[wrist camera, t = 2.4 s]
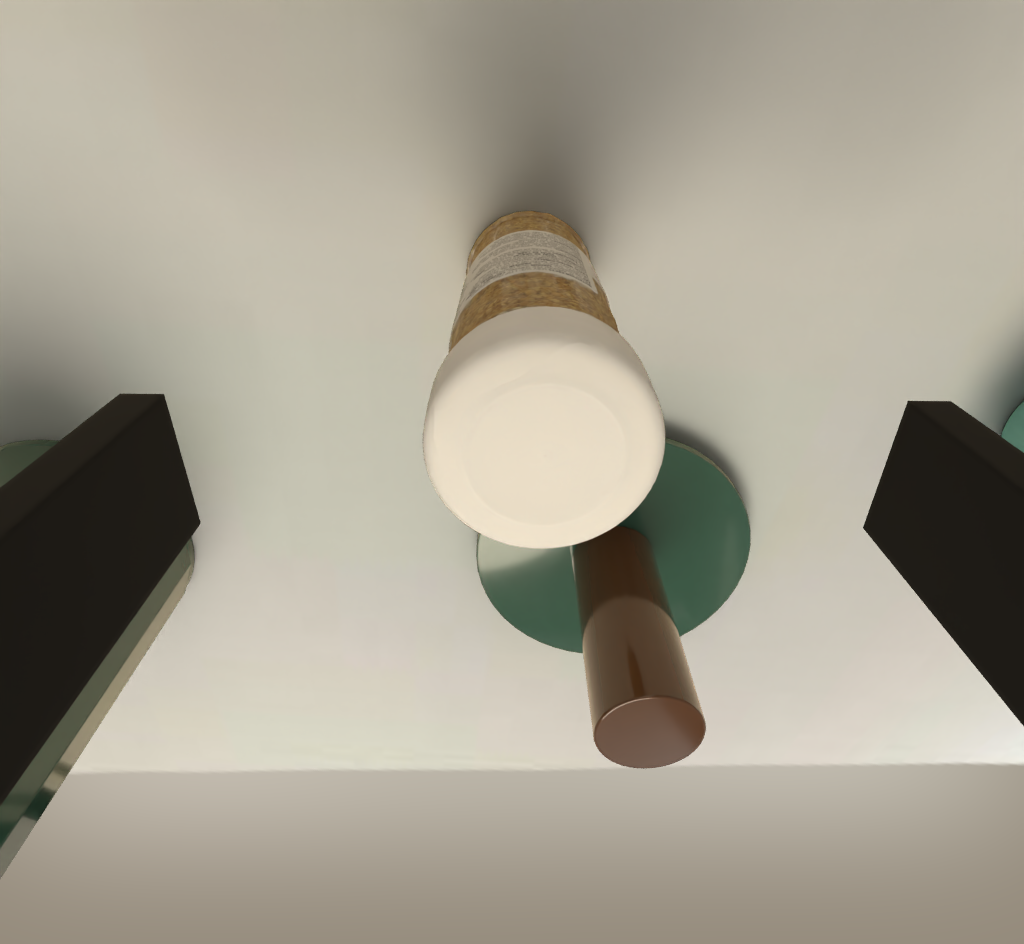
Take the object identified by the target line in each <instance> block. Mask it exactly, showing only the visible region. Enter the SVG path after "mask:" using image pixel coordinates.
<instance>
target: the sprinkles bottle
mask: <svg viewBox="0 0 1024 944" xmlns="http://www.w3.org/2000/svg"><path fill="white" fill-rule="evenodd" d="M664 450H665V425H664V418H663V413H662V410H661V407H660V404H659V401H658V398H657V395H656V393H655V391H654V388H653V386H652V383H651V381H650V379H649V376H648V374H647V372H646V370H645V368H644V366H643V364H642V362H641V360H640V359H639V357H638V356H637V354H636V353H635V351H634V350H633V348H632V347H631V346H630V344H629V343H628V342H627V341H626V340H625V339H624V338H623V337H622V336H621V335H620V334H619V331H618V329H617V325H616V321H615V319H614V317H613V315H612V313H611V310H610V306H609V302H608V299H607V296H606V294H605V292H604V290H603V287H602V285H601V283H600V281H599V279H598V276H597V274H596V272H595V270H594V268H593V266H592V264H591V262H590V257H589V253H588V251H587V248H586V247H585V245H584V244H583V242H582V240H581V238H580V237H579V235H578V234H577V233H576V232H575V231H574V230H573V229H572V228H571V227H570V226H569V225H567V224H566V223H564V222H563V221H562V220H560V219H558V218H556V217H555V216H553V215H551V214H549V213H539V212H535V211H523V212H515V213H513V214H509V215H506V216H503V217H501V218H499V219H498V220H497V221H496V222H494V223H493V224H491V225H490V226H489V227H487V228H486V229H485V230H484V231H483V233H482V234H481V235H480V236H479V237H478V239H477V240H476V242H475V244H474V246H473V248H472V250H471V252H470V255H469V258H468V264H467V270H466V279H465V282H464V286H463V289H462V293H461V297H460V301H459V305H458V309H457V313H456V317H455V320H454V324H453V328H452V332H451V337H450V343H449V354H448V355H447V357H446V358H445V359H444V361H443V363H442V365H441V367H440V368H439V370H438V372H437V375H436V377H435V380H434V382H433V386H432V390H431V394H430V398H429V402H428V406H427V411H426V417H425V423H424V431H423V452H424V460H425V464H426V468H427V472H428V475H429V477H430V480H431V482H432V484H433V486H434V488H435V491H436V492H437V494H438V495H439V497H440V499H441V500H442V501H443V503H444V504H445V505H446V506H447V507H448V509H449V510H450V511H451V512H452V513H453V514H454V515H455V516H456V517H457V518H459V519H460V520H461V521H462V522H463V523H464V524H466V525H467V526H468V527H470V528H472V529H473V530H475V531H477V532H479V533H480V534H482V535H484V536H486V537H488V538H491V539H493V540H496V541H499V542H502V543H505V544H509V545H513V546H518V547H525V548H540V549H544V548H557V547H564V546H570V545H575V544H578V543H581V542H584V541H587V540H590V539H593V538H595V537H597V536H599V535H601V534H603V533H605V532H607V531H609V530H610V529H612V528H614V527H615V526H617V525H618V524H619V523H621V522H622V521H623V520H625V519H626V518H627V517H628V516H629V515H630V514H631V513H632V512H633V511H634V510H635V509H636V508H637V507H638V506H639V505H640V504H641V502H642V501H643V500H644V499H645V498H646V496H647V494H648V493H649V491H650V490H651V488H652V486H653V484H654V482H655V481H656V478H657V475H658V473H659V470H660V467H661V465H662V461H663V456H664Z"/></svg>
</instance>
